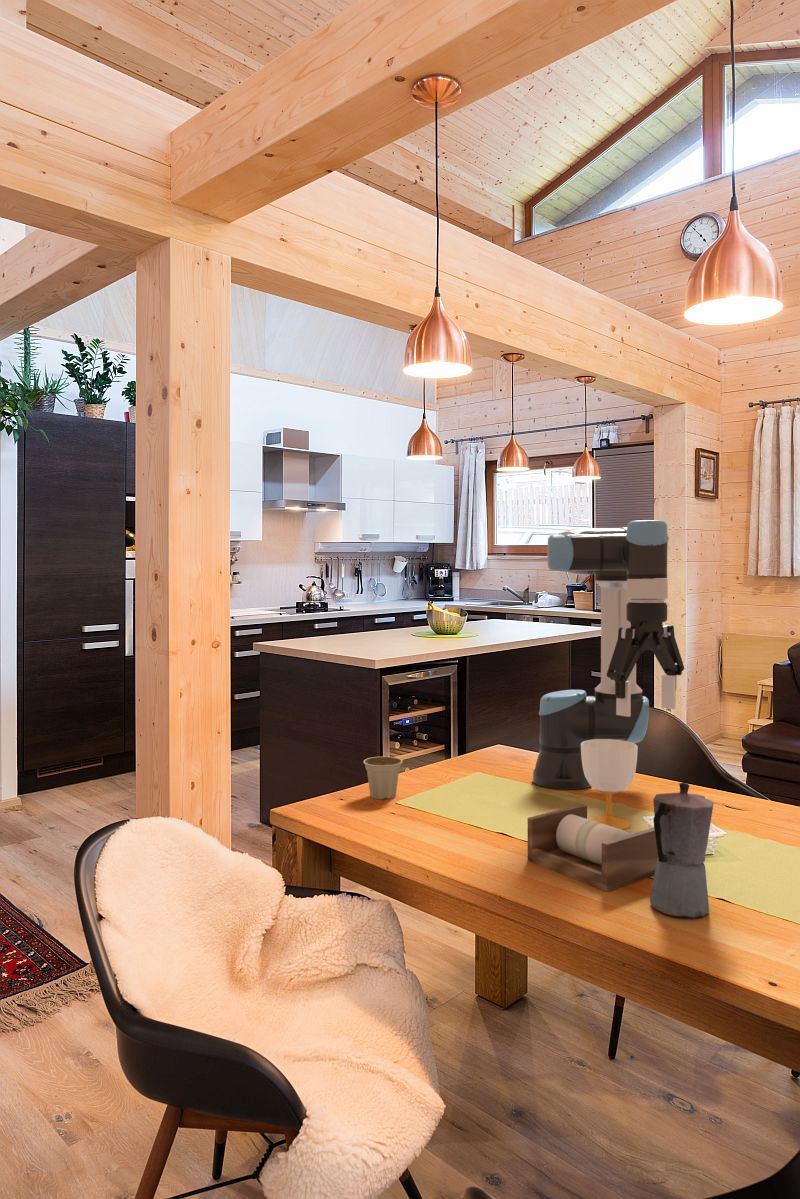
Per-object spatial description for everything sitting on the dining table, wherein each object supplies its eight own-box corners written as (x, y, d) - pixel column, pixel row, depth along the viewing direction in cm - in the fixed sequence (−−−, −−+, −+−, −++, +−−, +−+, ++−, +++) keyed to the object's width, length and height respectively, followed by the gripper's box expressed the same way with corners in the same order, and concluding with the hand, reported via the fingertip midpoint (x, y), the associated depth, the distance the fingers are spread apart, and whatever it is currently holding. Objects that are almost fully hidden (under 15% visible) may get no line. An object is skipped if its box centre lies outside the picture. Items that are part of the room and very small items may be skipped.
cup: (624, 836, 166) (624, 752, 165) (571, 825, 173) (571, 745, 172) (645, 822, 175) (646, 743, 175) (594, 812, 182) (594, 736, 182)
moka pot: (727, 902, 132) (728, 780, 132) (689, 934, 121) (690, 800, 120) (670, 888, 139) (671, 770, 138) (629, 916, 127) (629, 789, 127)
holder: (527, 860, 152) (527, 817, 152) (582, 844, 161) (582, 804, 161) (607, 891, 137) (607, 844, 137) (663, 872, 146) (663, 827, 146)
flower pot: (399, 802, 192) (399, 765, 191) (360, 801, 193) (359, 764, 193) (405, 791, 201) (405, 757, 201) (367, 790, 202) (367, 756, 202)
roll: (552, 851, 152) (558, 813, 152) (578, 852, 156) (583, 814, 156) (604, 871, 142) (610, 829, 142) (630, 871, 146) (636, 831, 146)
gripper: (670, 599, 167) (670, 703, 167) (587, 602, 152) (587, 716, 153) (703, 600, 161) (702, 707, 161) (619, 603, 146) (619, 721, 147)
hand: (646, 712), depth 157 cm, fingers open, 13 cm apart
